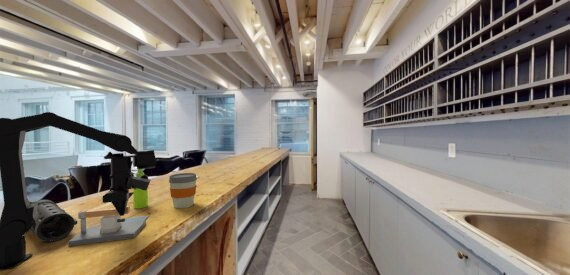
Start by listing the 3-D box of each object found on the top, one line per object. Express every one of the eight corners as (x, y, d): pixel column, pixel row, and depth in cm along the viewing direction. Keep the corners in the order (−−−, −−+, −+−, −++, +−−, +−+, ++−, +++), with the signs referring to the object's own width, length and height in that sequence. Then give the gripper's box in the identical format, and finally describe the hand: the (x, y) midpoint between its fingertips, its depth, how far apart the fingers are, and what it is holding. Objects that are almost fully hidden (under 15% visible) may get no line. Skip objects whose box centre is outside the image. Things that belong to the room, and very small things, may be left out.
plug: (121, 235, 76) (121, 216, 76) (100, 237, 75) (99, 218, 75) (127, 229, 81) (127, 212, 81) (106, 232, 79) (106, 214, 79)
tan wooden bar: (127, 214, 78) (127, 208, 78) (76, 219, 74) (76, 213, 74) (130, 211, 80) (130, 206, 80) (81, 216, 76) (81, 210, 76)
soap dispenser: (130, 209, 103) (129, 167, 103) (136, 205, 110) (135, 165, 109) (144, 208, 105) (144, 166, 104) (149, 204, 111) (148, 164, 111)
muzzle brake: (78, 235, 77) (34, 247, 69) (58, 218, 93) (20, 226, 84) (79, 208, 78) (35, 217, 69) (59, 196, 93) (21, 201, 85)
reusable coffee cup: (197, 207, 105) (196, 176, 105) (167, 210, 101) (167, 178, 101) (197, 200, 117) (196, 172, 117) (170, 203, 112) (170, 174, 112)
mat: (142, 223, 86) (142, 222, 86) (118, 226, 84) (118, 225, 84) (148, 216, 94) (148, 215, 94) (127, 218, 92) (127, 217, 92)
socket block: (134, 237, 74) (133, 218, 74) (68, 246, 69) (68, 225, 69) (145, 224, 86) (145, 207, 86) (90, 230, 81) (89, 212, 81)
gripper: (144, 173, 71) (145, 220, 72) (151, 165, 88) (152, 204, 88) (101, 176, 67) (102, 227, 67) (117, 168, 84) (118, 208, 84)
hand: (122, 215), depth 77 cm, fingers closed
